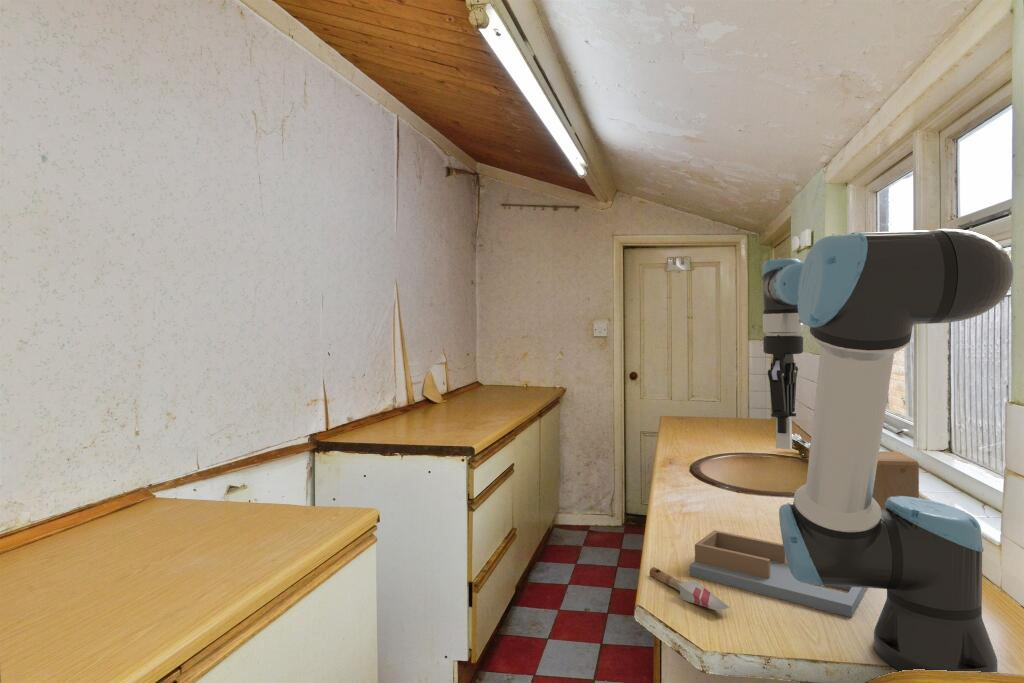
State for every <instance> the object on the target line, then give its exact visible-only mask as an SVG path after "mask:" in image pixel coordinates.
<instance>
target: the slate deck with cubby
mask: <svg viewBox="0 0 1024 683" xmlns="http://www.w3.org/2000/svg"><path fill="white" fill-rule="evenodd" d="M689 576H691V577H696V578H698V579H703V580H707V581H709V582H714V583H717V584H722V585H725V586H729V587H730V586H731V587H733V588H737V589H741V590H746V591H748V592H753V593H757V594H761V595H764V596H768V597H771V598H775V599H778V600H779V599H780V600H784V601H788V602H790V603H795V604H798V605H803V606H807V607H809V608H814V609H818V610H822V611H825V612H830V613H832V614H837V615H841V616H846V617H848V618H853V616H854V615H855V612H856V611H857V609H858V607H859V605H860V604H861V602H862V600H863V598H864V596H865V594H866V592H867V590H868V588H864V587H845V586H832V587H833V588H837V589H842V590H846V591H848V592H847V593H846V592H842V591H838V590H834V589H830V588H826V587H823V586H819V585H815V584H808V583H802V582H800V581H798V580H796V579H795V578H794V577H793V575H792V574H791V572H790V569H789V566H788V563H787V559H786V555H785V551H784V546H783V543H779V542H774V541H769V540H765V539H759V538H756V537H755V538H754V537H751V536H750V537H749V536H744V535H739V534H735V533H732V532H731V533H729V532H726V531H725V532H724V531H720V530H716V529H715V530H713V531H711V532H710V533H709V534H707V535H705V536H704V537H703V538H702V539H700V540H699V541H698V542H696V543H694V561H693V562H692V563H691V564H690V565H689Z"/></svg>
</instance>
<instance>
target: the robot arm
mask: <svg viewBox="0 0 1024 683" xmlns="http://www.w3.org/2000/svg"><path fill="white" fill-rule="evenodd" d="M1013 278H1014V268H1013V263H1012V259H1011V258H1010V256H1009V254H1008V253H1007V251H1006V250H1005V249H1004V248H1003V246H1001V245H1000V244H999V243H998V242H996V241H995V240H993V239H991V238H990V237H988V236H986V235H983V234H980V233H977V232H974V231H971V230H965V229H955V228H954V229H953V228H938V229H937V228H936V229H925V230H902V231H901V230H899V231H898V230H897V231H870V232H859V231H855V232H851V233H846V234H837V235H828V236H824V237H822V238H820V239H819V240H817V241H816V242H815V243H814V244H813V245H812V246H811V248H810V249H809V251H808V252H807V255H806V257H805V259H804V261H802V260H800V259H798V258H775V259H768V260H766V261H765V262H764V263H763V265H762V275H761V280H762V300H763V302H762V305H763V306H762V308H763V313H762V332H763V334H765V336H764V337H762V340H763V343H762V344H763V349H762V350H763V353H764V354H765V355H772V361H771V363H770V369H768V370H767V376H768V380H769V390H770V401H771V414H770V416H771V417H772V418H775V448H776V449H780V450H792V448H793V425H792V424H793V423H792V422H793V421H792V420H793V419H792V418H793V417H796V416H797V413H796V412H795V410H796V397H797V396H796V394H797V393H796V392H797V377H798V373H799V367H798V366H797V365H796V364H797V363H796V362H795V360H794V355H800V354H803V353H804V337H803V335H800V334H801V333H803V331H804V330H803V329H804V325H805V326H807V327H809V335H810V337H811V338H812V339H813V340H814V341H815V342H816V343H817V344H819V346H820V350H819V360H818V369H817V377H816V378H817V379H816V386H815V387H816V390H815V397H814V398H815V399H814V406H813V408H814V409H813V417H812V426H811V438H810V444H809V445H810V446H809V456H808V466H807V474H806V482H805V483H804V484H803V485H801V486H799V488H797V489H796V491H795V492H794V494H793V495H794V496H793V504H791V503H789V502H788V503H785V504H781V506H780V507H779V509H778V514H779V515H778V518H779V528H780V529H779V530H780V533H781V535H780V536H781V540H782V544H783V546H784V551H785V555H786V559H787V563H788V566H789V569H790V572H791V574H792V575H793V577H794V578H795V579H796V580H798V581H800V582H802V583H808V584H815V586H819V587H826V586H827V587H828V586H829V587H833V586H845V587H864V588H867V589H878V590H879V589H882V590H886V600H885V602H884V604H883V606H882V610H881V612H880V615H879V617H878V620H877V622H876V624H875V626H874V630H873V648H874V651H875V653H876V654H877V655H878V657H880V658H881V659H882V660H883V661H884V662H886V664H888V665H889V666H890V667H893V668H894V669H896V670H898V671H900V672H902V670H913V669H925V670H947V671H981V672H997V673H998V657H997V655H996V653H995V649H994V647H993V643H992V642H991V639H990V637H989V634H988V631H987V628H986V626H985V623H984V620H983V613H982V610H983V606H982V604H983V552H984V549H985V548H984V546H983V541H982V540H983V539H982V538H983V537H982V529H981V525H980V523H979V522H978V520H977V519H976V518H975V517H974V516H973V515H972V514H970V513H968V512H966V511H964V510H962V509H959V508H957V507H955V506H951V505H948V504H946V503H941V502H938V501H934V500H930V499H925V498H920V497H919V498H915V497H907V496H895V497H893V496H892V497H889V498H888V499H887V501H886V503H885V507H886V508H880V506H879V504H878V503H877V501H876V500H875V499H874V498H872V495H873V488H874V482H875V475H876V469H877V462H878V456H879V451H880V447H881V441H882V436H883V428H884V421H885V417H886V416H885V415H886V409H887V402H888V395H889V389H890V385H891V384H890V383H891V382H890V381H891V376H892V370H893V363H894V358H895V357H894V356H895V353H896V352H899V351H901V350H902V349H904V348H906V347H907V346H908V345H909V344H910V342H911V339H912V332H913V327H914V325H922V324H923V325H924V324H925V325H927V324H932V325H933V324H947V323H956V322H960V321H965V320H968V319H969V320H970V319H973V318H976V317H978V316H981V315H982V314H985V313H986V312H988V311H990V310H991V309H993V308H994V307H996V306H997V305H998V304H1000V302H1002V301H1003V299H1004V298H1005V297H1006V296H1007V295H1008V292H1009V291H1010V290H1011V286H1012V284H1013V280H1014V279H1013Z"/></svg>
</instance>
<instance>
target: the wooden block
mask: <svg viewBox="0 0 1024 683" xmlns="http://www.w3.org/2000/svg"><path fill="white" fill-rule="evenodd" d="M919 465H920V464H919V461H918V460H916V459H914V458H912V457H910V456H908V455H906V454H904V453H902V452H899V451H880V450H879V456H878V462H877V469H876V475H875V482H874V488H873V495H872V498H874V499H875V500H876V501H877V503H878V504H879V506H880V508H886V507H885V503H886V501H887V499H888V498H889V497H892V496H893V497H895V496H907V497H915V498H920V486H919V485H920V476H919V475H920V466H919Z"/></svg>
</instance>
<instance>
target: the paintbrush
mask: <svg viewBox="0 0 1024 683" xmlns="http://www.w3.org/2000/svg"><path fill="white" fill-rule="evenodd" d="M648 573H649V575H650V576H652V577H653V578H654V579H657V580H658V581H660V582H662V583H664V584H666V585H668V586H670V587H672V588H674V589H676V590H677V591H679V592H680V593H679V596H678V598H679V599H680V600H683V601H686V602H689V603H691V604H696V605H698V606H700V607H704V608H707V609H709V610H712V611H713V610H714V611H716V612H719V611H722V610H727V609H729V608H730V606H729V605H727V604H726V603H725V602H723V601H722V599H721V600H720V598H718V597H717V596H716V595H715V594H713V593H712V592H711V591H709V590H708V589H707V588H705V587H704V586H703V585H702V584H700V583H699V582H698V581H697V580H695V579H691V580H687V581H682V580H680V579H677V578H676V577H674V576H672V575H670V573H666V572H664V571H662V570H660V569H659V568H657V567H653V566H652V567H650V569H649V572H648Z"/></svg>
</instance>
